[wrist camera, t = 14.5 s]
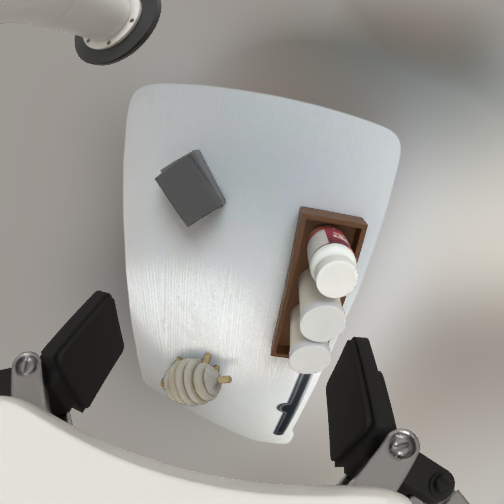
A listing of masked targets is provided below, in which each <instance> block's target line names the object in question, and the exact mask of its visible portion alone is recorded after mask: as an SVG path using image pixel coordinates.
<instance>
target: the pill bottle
mask: <svg viewBox="0 0 504 504" xmlns="http://www.w3.org/2000/svg"><path fill="white" fill-rule="evenodd" d="M307 254H308V261H309V267H310V272H311V275H312V277H313V279H314V280H315V282H316V286H317V288H318V290H319V291H320V293H321V294H323V295H324V296H326V297H329V298H341V297H344V296H346V295H348V294H349V293H350V292H352V291H353V289H354V288H355V286H356V284H357V281H358V273H357V270H356V266H357V263H356V258H355V256H354V253H353V251H352V249H351V247H350V245H349V243H348V241H347V239H346V238H345V236H344V234H343V233H342V231H341V230H340V229H338V228H337V227H335V226H332V225H323V226H319V227H317V228H316V229H314V230H313V231H312V232H311V233H310V235H309V236H308V239H307Z"/></svg>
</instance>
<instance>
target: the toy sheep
mask: <svg viewBox="0 0 504 504" xmlns="http://www.w3.org/2000/svg"><path fill="white" fill-rule="evenodd" d="M210 357H211V354H210V353H206V354H205V357H204V360H203V361H202V360H201V359H198V358H194V359H192V358H185V359H183V360H182V359H181V358H180V357H177V358H176V360H175V363H174V364H173V365H172V366H171V367H170V368H169V369H168V370H167V371H166V373H165V375H164V377H163V378H162V382H161V383H162V384H161V383H160V385H162V387H163V389H164V390H165V391H166V394H167V395H168V397H169V398H170V399H171V400H173V401H174V402H178V403H181V404H183V405H191V406H197V405H199V404H205V403H207V402H208V401H211V400H213V399H214V398H215V397H216V396H217V394H218V393H219V391H220V389H221V384H222V383H230V382H231V381H232V378H231V377H230V376H221V377H220V375H219V373H218V371H219V366H217V365H215V366H214V367H212V366H211V365H210V364H209V361H210Z"/></svg>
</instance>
